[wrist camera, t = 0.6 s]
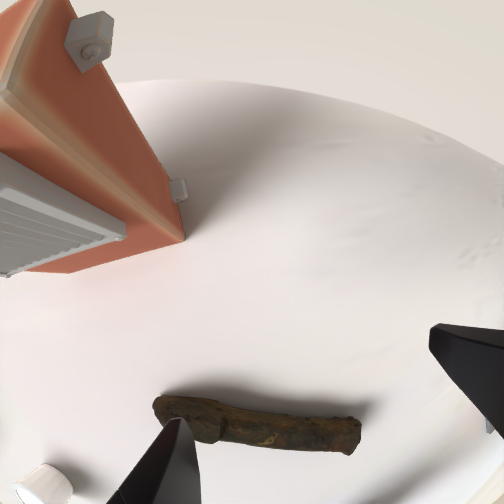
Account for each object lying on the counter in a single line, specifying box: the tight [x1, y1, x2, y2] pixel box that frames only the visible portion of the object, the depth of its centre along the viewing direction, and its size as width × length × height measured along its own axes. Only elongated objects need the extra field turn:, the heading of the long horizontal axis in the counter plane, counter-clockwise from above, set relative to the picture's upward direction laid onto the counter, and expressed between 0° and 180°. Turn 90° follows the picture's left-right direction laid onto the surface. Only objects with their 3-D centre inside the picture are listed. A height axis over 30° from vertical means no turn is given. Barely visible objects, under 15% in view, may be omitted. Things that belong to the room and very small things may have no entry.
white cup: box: [13, 464, 73, 504], centre depth 16 cm, size 7×7×7 cm
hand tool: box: [152, 396, 362, 456], centre depth 21 cm, size 19×4×5 cm, turn 74°
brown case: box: [0, 0, 188, 278], centre depth 13 cm, size 21×7×15 cm
